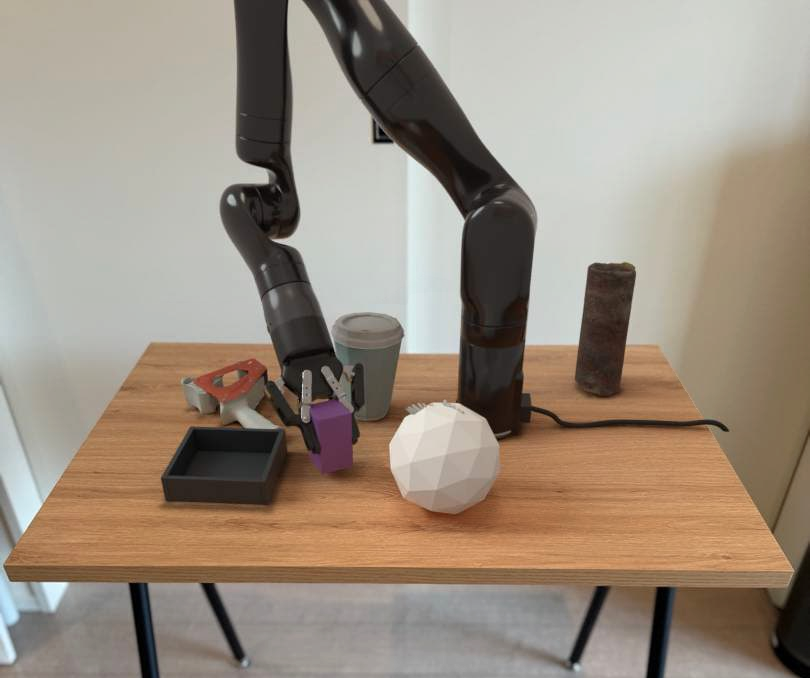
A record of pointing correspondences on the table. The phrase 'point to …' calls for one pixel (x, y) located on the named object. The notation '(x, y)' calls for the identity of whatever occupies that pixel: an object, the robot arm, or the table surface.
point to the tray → (225, 466)
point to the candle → (604, 327)
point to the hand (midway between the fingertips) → (335, 447)
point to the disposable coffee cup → (370, 357)
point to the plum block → (332, 436)
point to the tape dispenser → (231, 394)
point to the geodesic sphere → (444, 457)
